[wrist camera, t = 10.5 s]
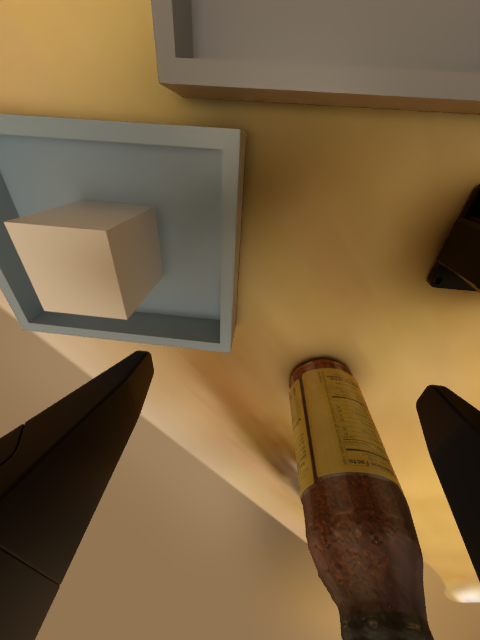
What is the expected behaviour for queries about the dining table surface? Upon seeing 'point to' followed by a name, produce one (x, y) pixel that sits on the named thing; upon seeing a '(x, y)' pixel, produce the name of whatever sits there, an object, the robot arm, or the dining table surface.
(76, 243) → the stone block
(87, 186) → the bin
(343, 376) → the sauce bottle
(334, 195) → the dining table surface
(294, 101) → the bin
